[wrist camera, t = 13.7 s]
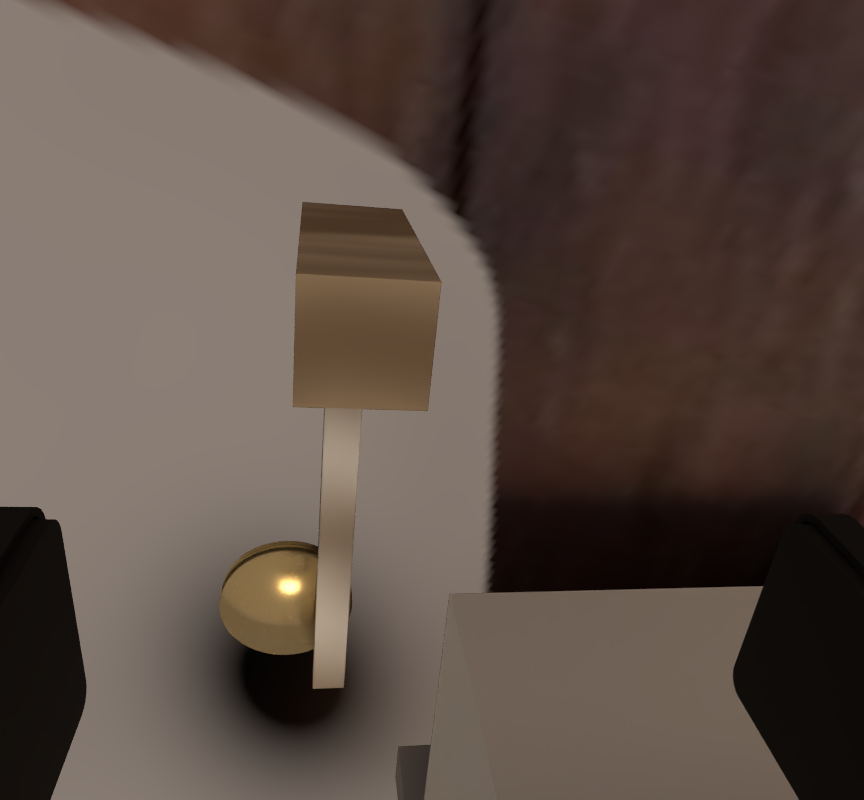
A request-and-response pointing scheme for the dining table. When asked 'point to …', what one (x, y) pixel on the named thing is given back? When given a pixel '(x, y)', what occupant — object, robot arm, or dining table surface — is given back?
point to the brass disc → (273, 597)
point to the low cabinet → (593, 700)
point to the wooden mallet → (355, 372)
